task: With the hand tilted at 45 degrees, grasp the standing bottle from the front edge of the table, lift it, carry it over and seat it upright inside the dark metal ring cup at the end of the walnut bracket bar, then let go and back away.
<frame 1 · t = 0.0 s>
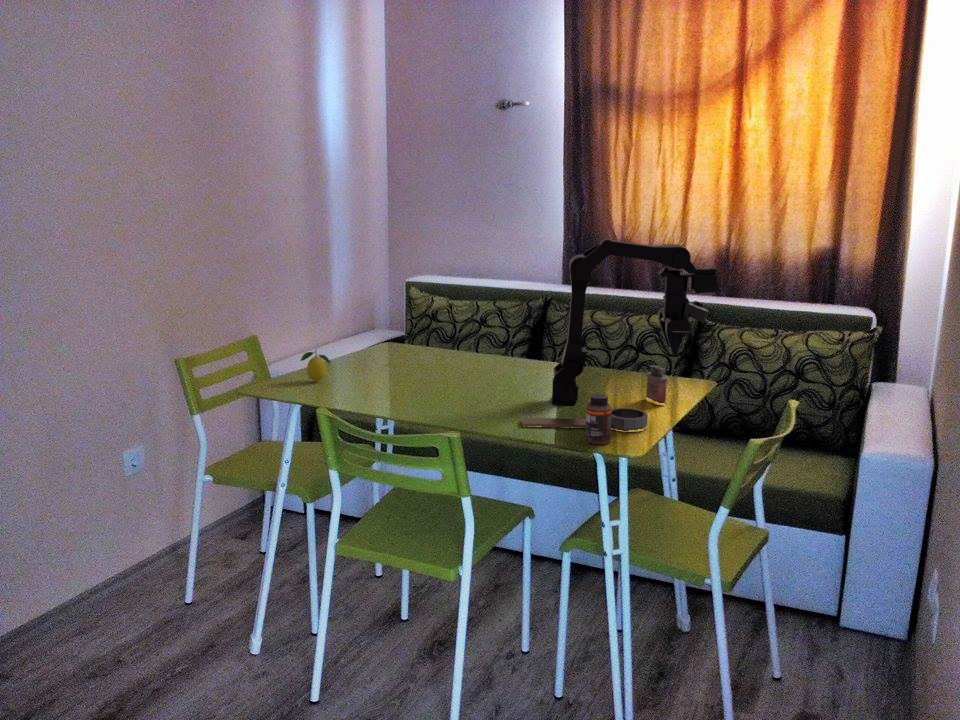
hand: (672, 351, 245), 15 cm above the table, tool pointing down, fingers open, 9 cm apart
lighter: (655, 402, 251), on the table
lemon: (316, 382, 268), on the table
supplement bottle: (597, 442, 218), on the table
cup bracket: (626, 426, 229), on the table
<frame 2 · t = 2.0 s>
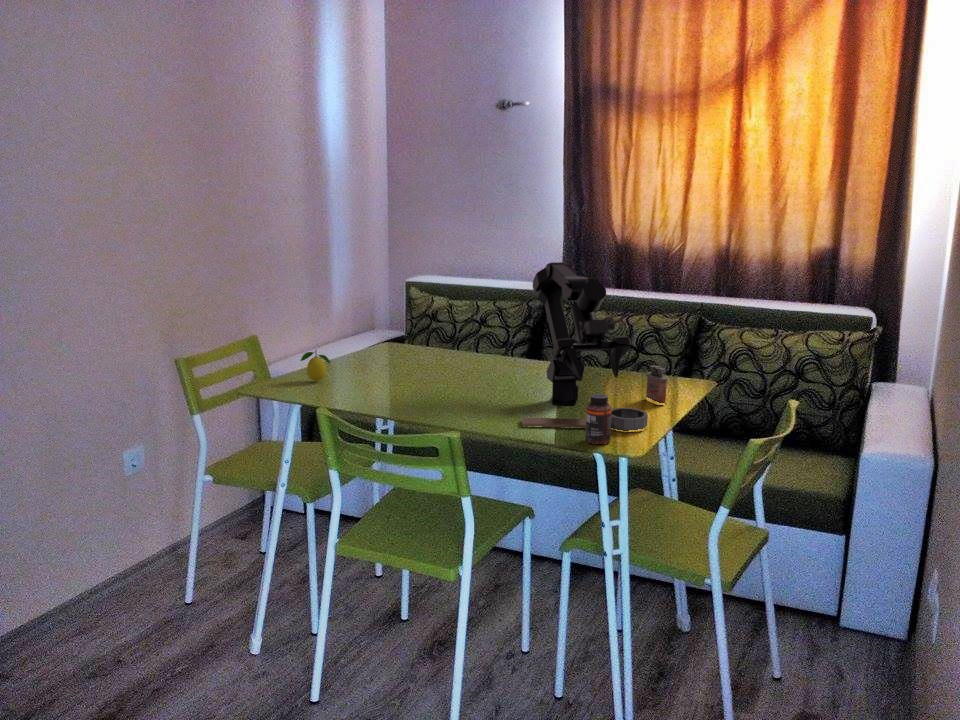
hand: (598, 377, 223), 13 cm above the table, tool tilted 40°, fingers open, 9 cm apart
nothing on the table moved.
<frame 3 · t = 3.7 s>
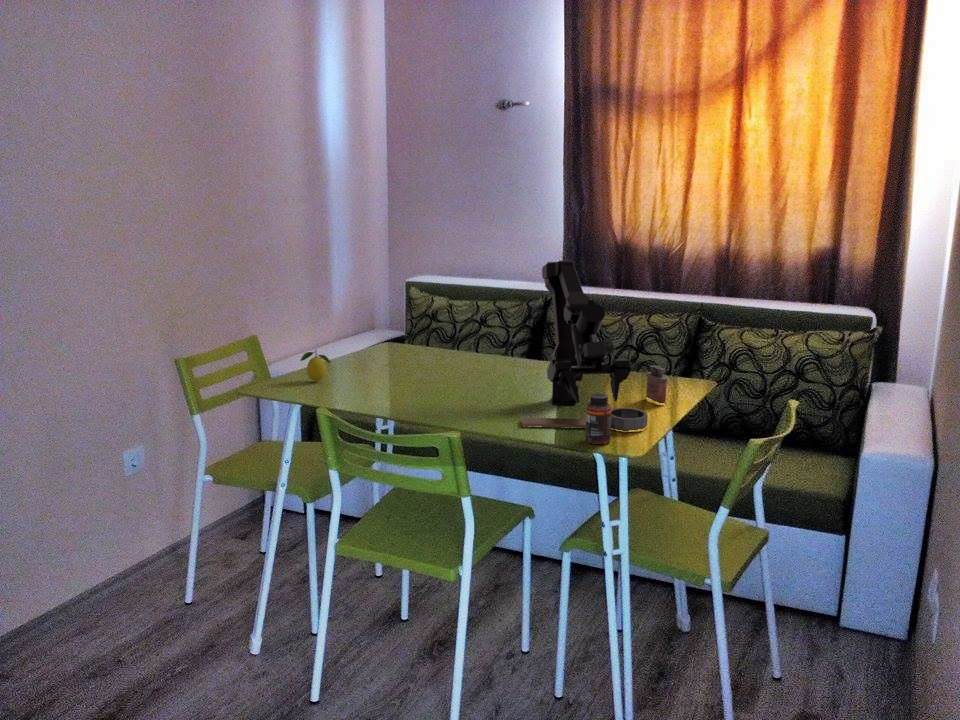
hand: (597, 401, 218), 9 cm above the table, tool tilted 45°, fingers open, 9 cm apart
nothing on the table moved.
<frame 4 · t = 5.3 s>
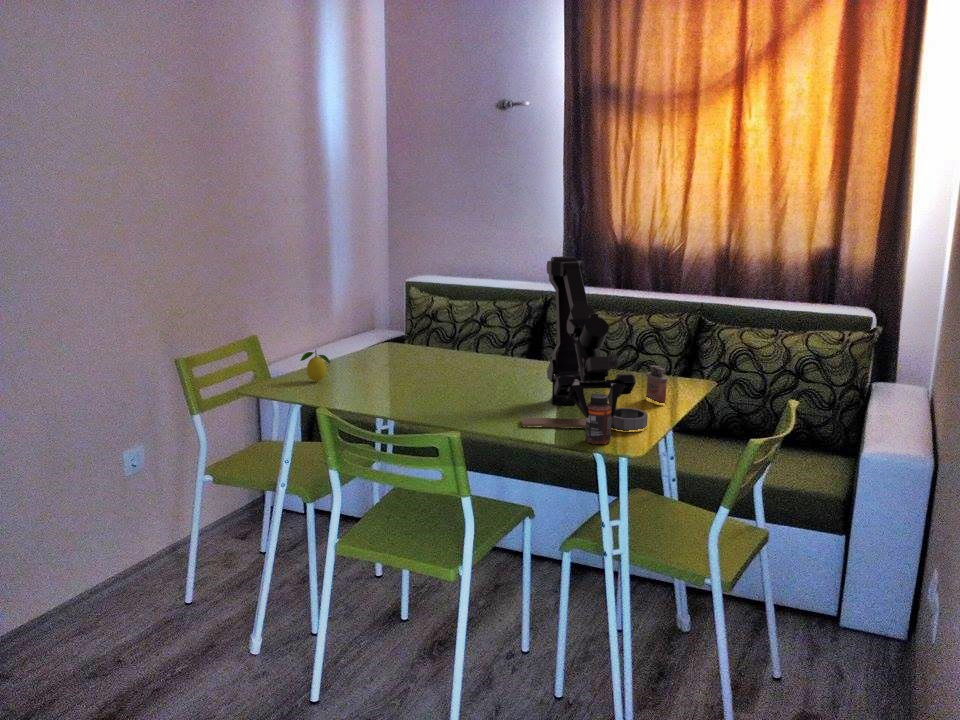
hand: (600, 416, 215), 7 cm above the table, tool tilted 45°, fingers closed on supplement bottle, 6 cm apart
supplement bottle: (597, 442, 218), on the table, touching gripper
everything else where it was.
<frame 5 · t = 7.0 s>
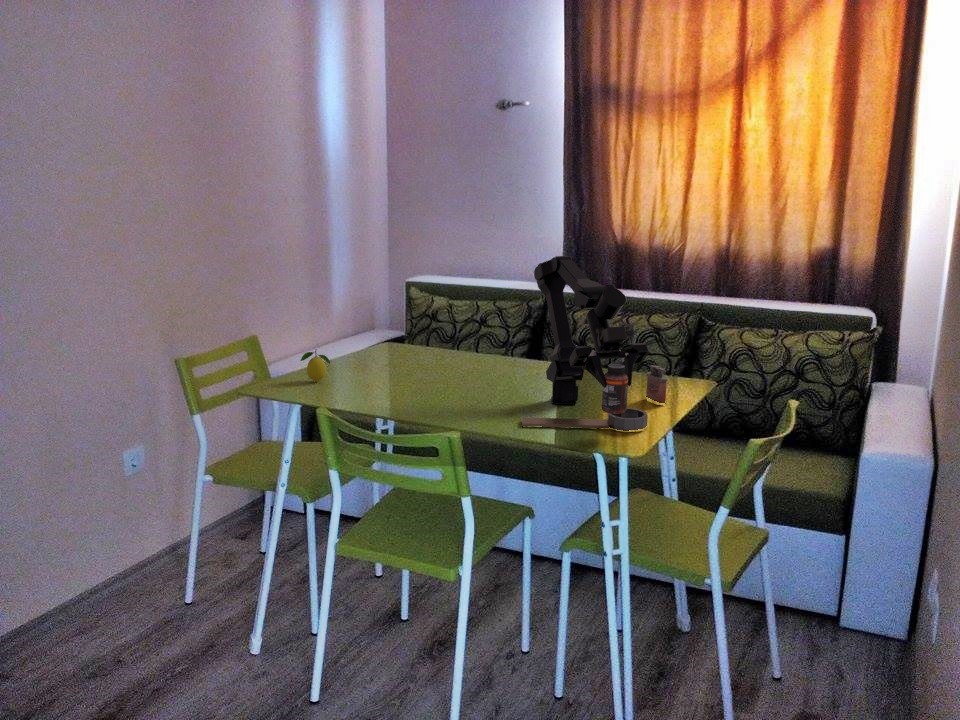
hand: (617, 386, 218), 13 cm above the table, tool tilted 45°, fingers closed on supplement bottle, 6 cm apart
supplement bottle: (613, 411, 221), point 6 cm above the table, touching gripper
everything else where it was.
when the fingers open (8 cm above the table, at t = 9.1 s): supplement bottle drops 2 cm, resting in cup bracket.
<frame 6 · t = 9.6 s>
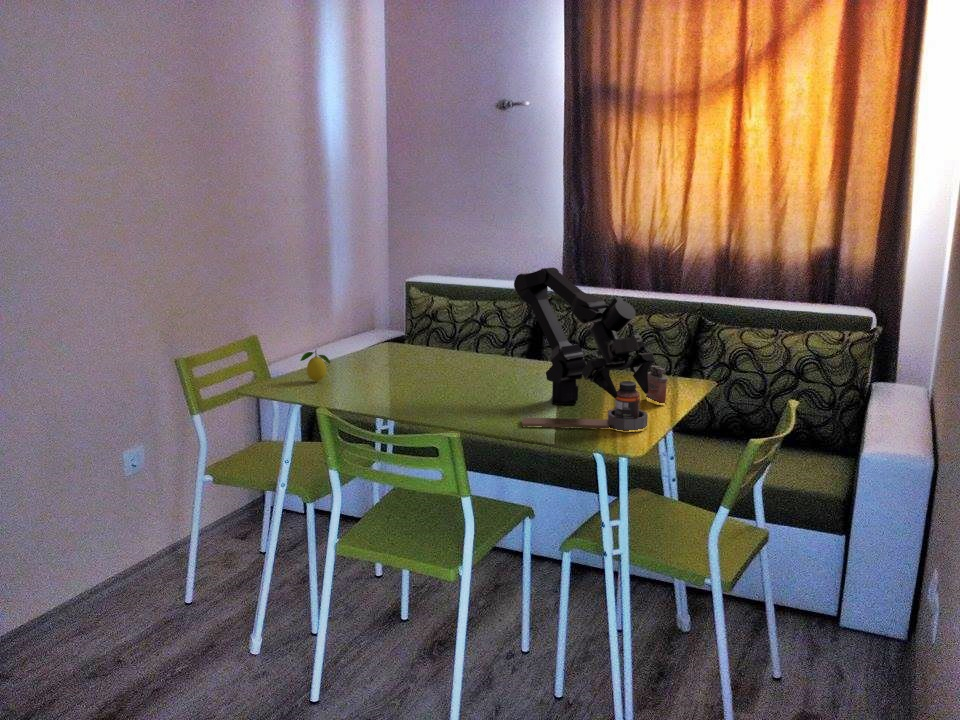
hand: (631, 395, 226), 9 cm above the table, tool tilted 45°, fingers open, 9 cm apart
supplement bottle: (626, 427, 229), resting in cup bracket
everything else where it was.
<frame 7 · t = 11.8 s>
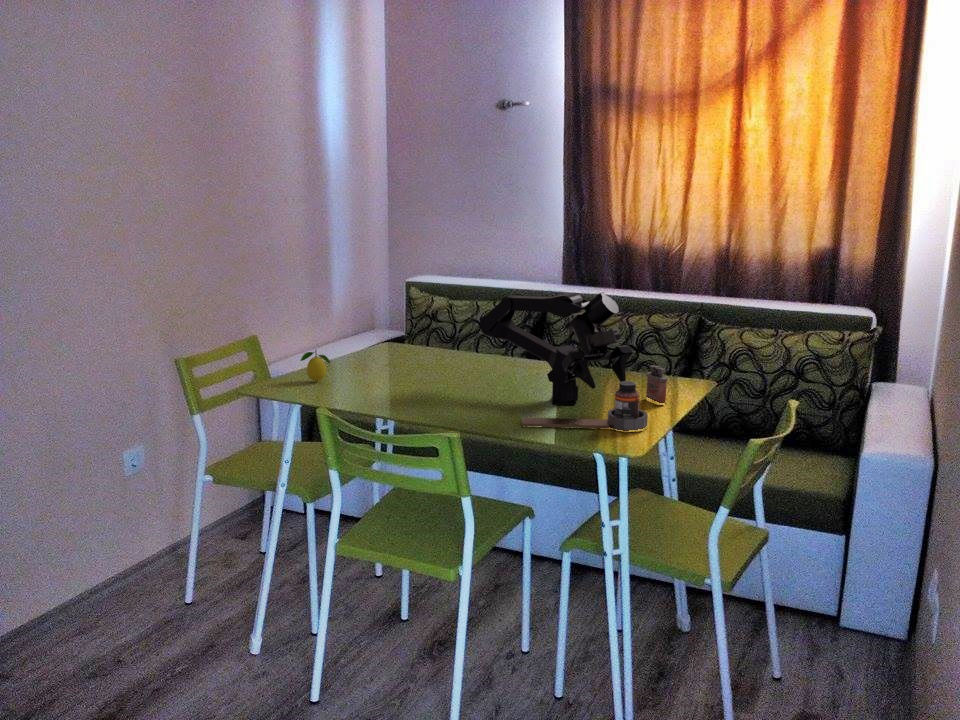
hand: (609, 386, 234), 9 cm above the table, tool tilted 45°, fingers open, 9 cm apart
nothing on the table moved.
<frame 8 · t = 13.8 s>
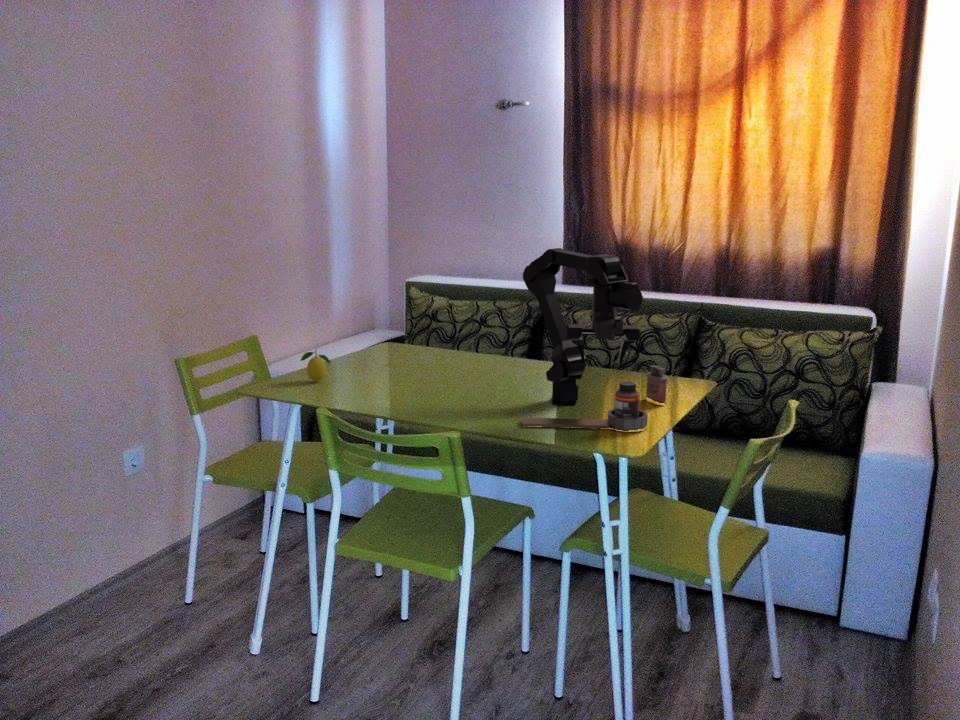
hand: (601, 364, 237), 13 cm above the table, tool pointing down, fingers open, 9 cm apart
nothing on the table moved.
at the end: supplement bottle 0.2 cm from the cup bracket (horizontally); supplement bottle tilted 0°; the gripper is holding nothing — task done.
